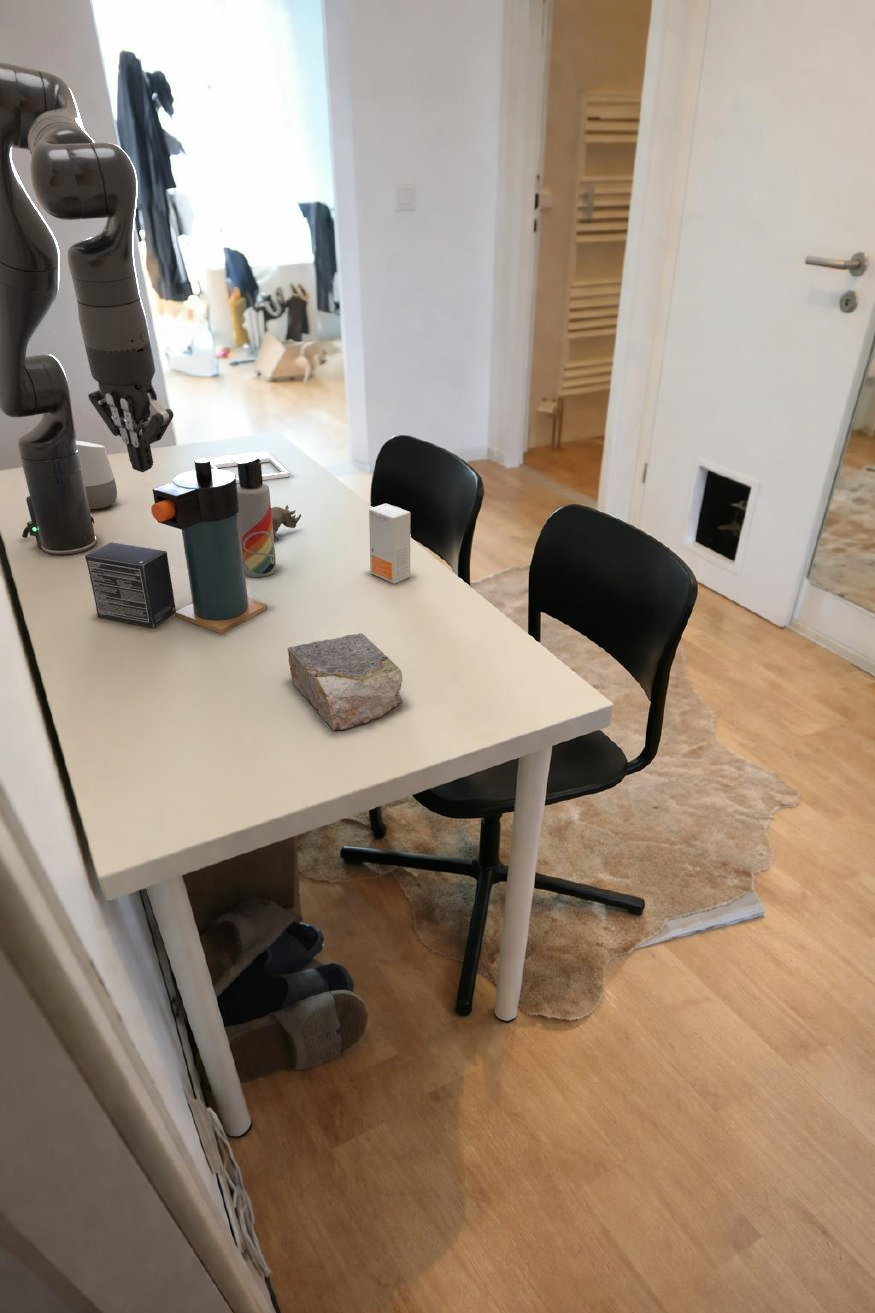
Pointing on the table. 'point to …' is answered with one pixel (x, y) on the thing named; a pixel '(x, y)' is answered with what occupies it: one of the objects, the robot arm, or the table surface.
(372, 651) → the geological specimen
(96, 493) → the smart speaker
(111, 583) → the small box
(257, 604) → the coaster
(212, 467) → the photo frame
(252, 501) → the lotion bottle
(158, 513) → the button
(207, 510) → the drink bottle
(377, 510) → the cosmetic box
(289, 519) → the rhino figurine
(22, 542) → the table surface
